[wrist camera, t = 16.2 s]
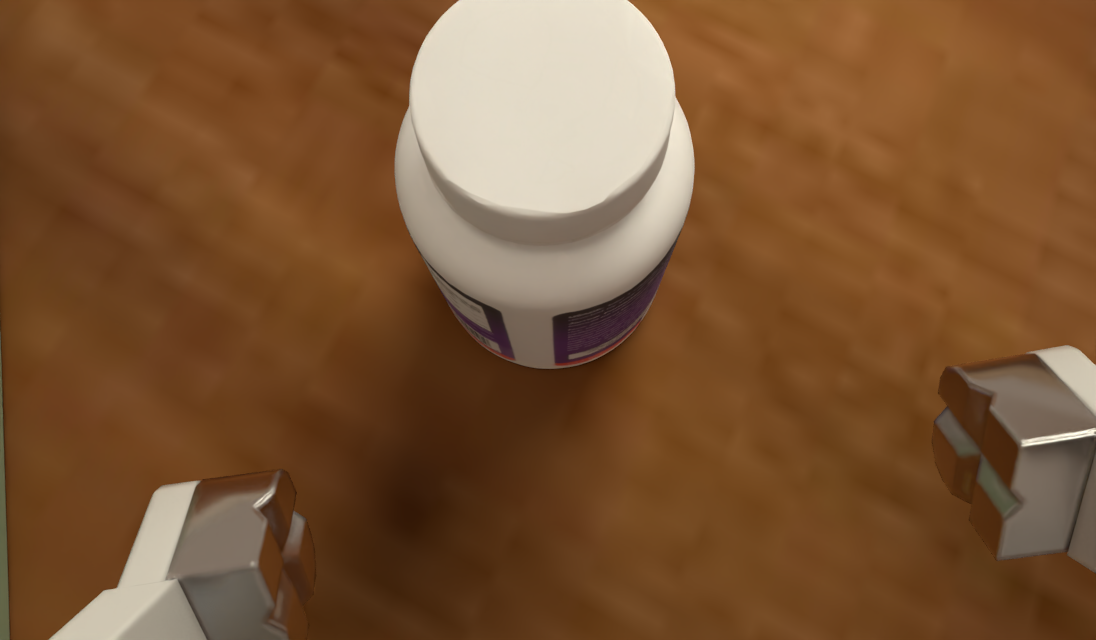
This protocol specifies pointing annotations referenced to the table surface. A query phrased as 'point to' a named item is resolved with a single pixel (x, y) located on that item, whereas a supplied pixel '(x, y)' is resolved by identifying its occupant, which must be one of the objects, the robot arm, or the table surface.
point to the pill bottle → (545, 172)
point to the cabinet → (3, 532)
